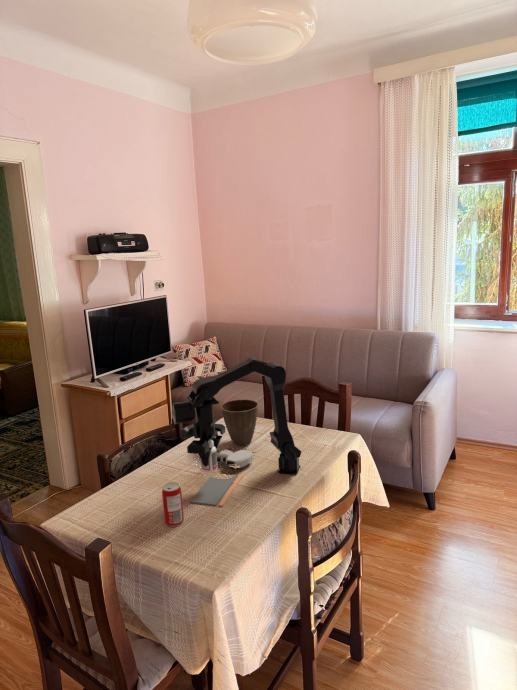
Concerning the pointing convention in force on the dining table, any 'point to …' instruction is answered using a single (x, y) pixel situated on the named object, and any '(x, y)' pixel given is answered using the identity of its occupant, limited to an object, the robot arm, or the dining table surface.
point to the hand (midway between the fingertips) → (209, 462)
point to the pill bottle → (211, 459)
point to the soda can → (172, 504)
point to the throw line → (230, 491)
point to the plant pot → (240, 420)
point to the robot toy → (235, 457)
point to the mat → (212, 491)
